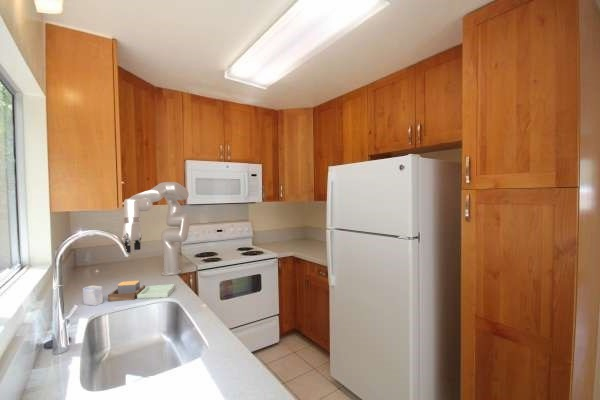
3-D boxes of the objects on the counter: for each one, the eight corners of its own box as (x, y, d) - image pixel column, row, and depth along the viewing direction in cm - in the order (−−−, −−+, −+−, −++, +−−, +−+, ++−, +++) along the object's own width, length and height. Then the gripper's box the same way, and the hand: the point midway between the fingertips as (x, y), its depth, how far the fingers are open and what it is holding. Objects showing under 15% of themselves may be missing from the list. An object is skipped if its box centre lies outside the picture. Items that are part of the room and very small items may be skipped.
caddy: (122, 294, 153) (122, 281, 153) (139, 292, 154) (139, 280, 154) (118, 297, 148) (117, 284, 148) (136, 296, 149) (135, 283, 149)
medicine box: (103, 302, 141) (102, 286, 140) (94, 306, 136) (94, 289, 136) (91, 301, 143) (91, 285, 142) (83, 304, 138) (82, 288, 138)
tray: (147, 290, 158) (147, 285, 158) (175, 288, 160) (175, 284, 160) (137, 299, 144) (137, 294, 144) (167, 297, 146) (167, 292, 146)
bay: (119, 293, 154) (119, 287, 154) (145, 291, 156) (144, 285, 156) (108, 301, 142) (108, 295, 142) (135, 299, 144) (135, 293, 144)
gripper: (134, 219, 161) (134, 248, 161) (115, 221, 144) (115, 254, 143) (147, 219, 161) (147, 248, 161) (129, 221, 144) (130, 253, 144)
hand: (132, 251), depth 152 cm, fingers open, 9 cm apart
